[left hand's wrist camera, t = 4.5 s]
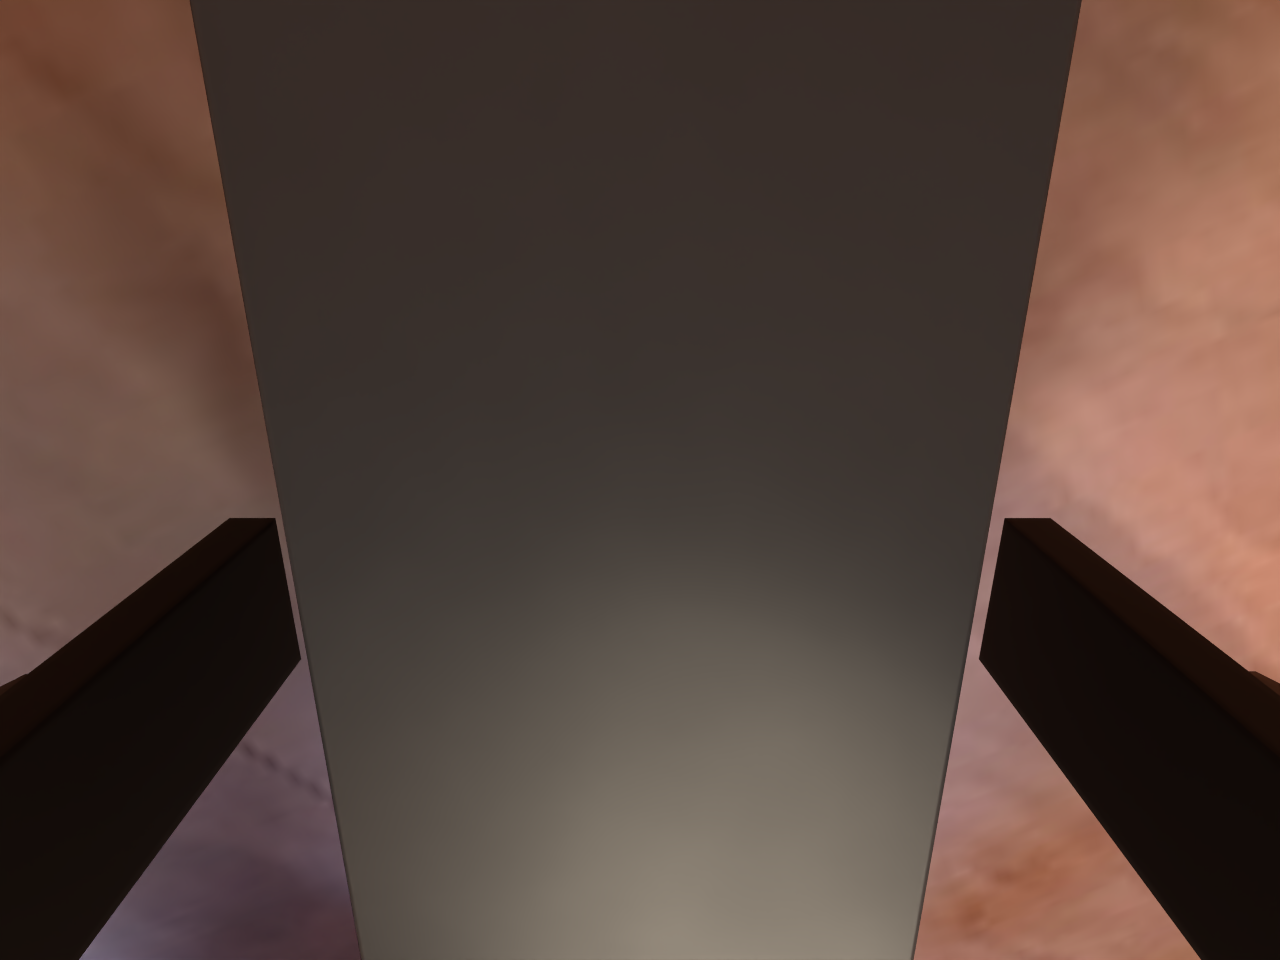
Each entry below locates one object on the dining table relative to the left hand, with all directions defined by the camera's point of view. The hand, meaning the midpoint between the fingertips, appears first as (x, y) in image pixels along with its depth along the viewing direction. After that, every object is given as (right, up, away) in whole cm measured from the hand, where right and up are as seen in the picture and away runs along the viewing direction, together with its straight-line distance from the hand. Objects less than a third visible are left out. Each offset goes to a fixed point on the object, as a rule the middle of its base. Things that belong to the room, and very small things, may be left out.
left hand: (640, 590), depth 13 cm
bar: (0, +9, -1) cm, 9 cm away
